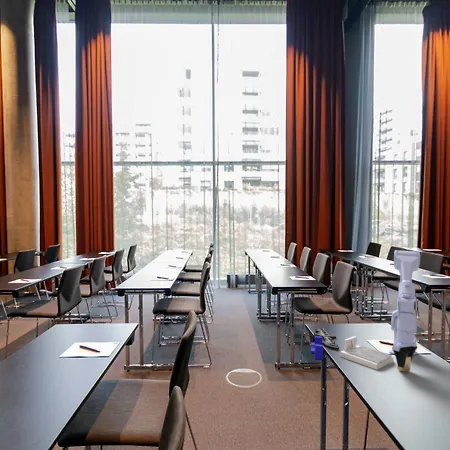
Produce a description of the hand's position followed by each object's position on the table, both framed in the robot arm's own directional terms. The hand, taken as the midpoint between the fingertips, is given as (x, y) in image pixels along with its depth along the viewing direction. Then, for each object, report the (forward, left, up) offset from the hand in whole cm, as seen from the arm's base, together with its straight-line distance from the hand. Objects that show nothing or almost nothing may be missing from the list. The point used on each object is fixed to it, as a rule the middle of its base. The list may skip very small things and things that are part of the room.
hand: (404, 365), depth 142 cm
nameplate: (-6, -39, -3) cm, 40 cm away
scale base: (+1, -15, -2) cm, 15 cm away
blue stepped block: (+13, -30, -3) cm, 33 cm away
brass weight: (0, 0, -2) cm, 2 cm away
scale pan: (+1, -14, 0) cm, 14 cm away
